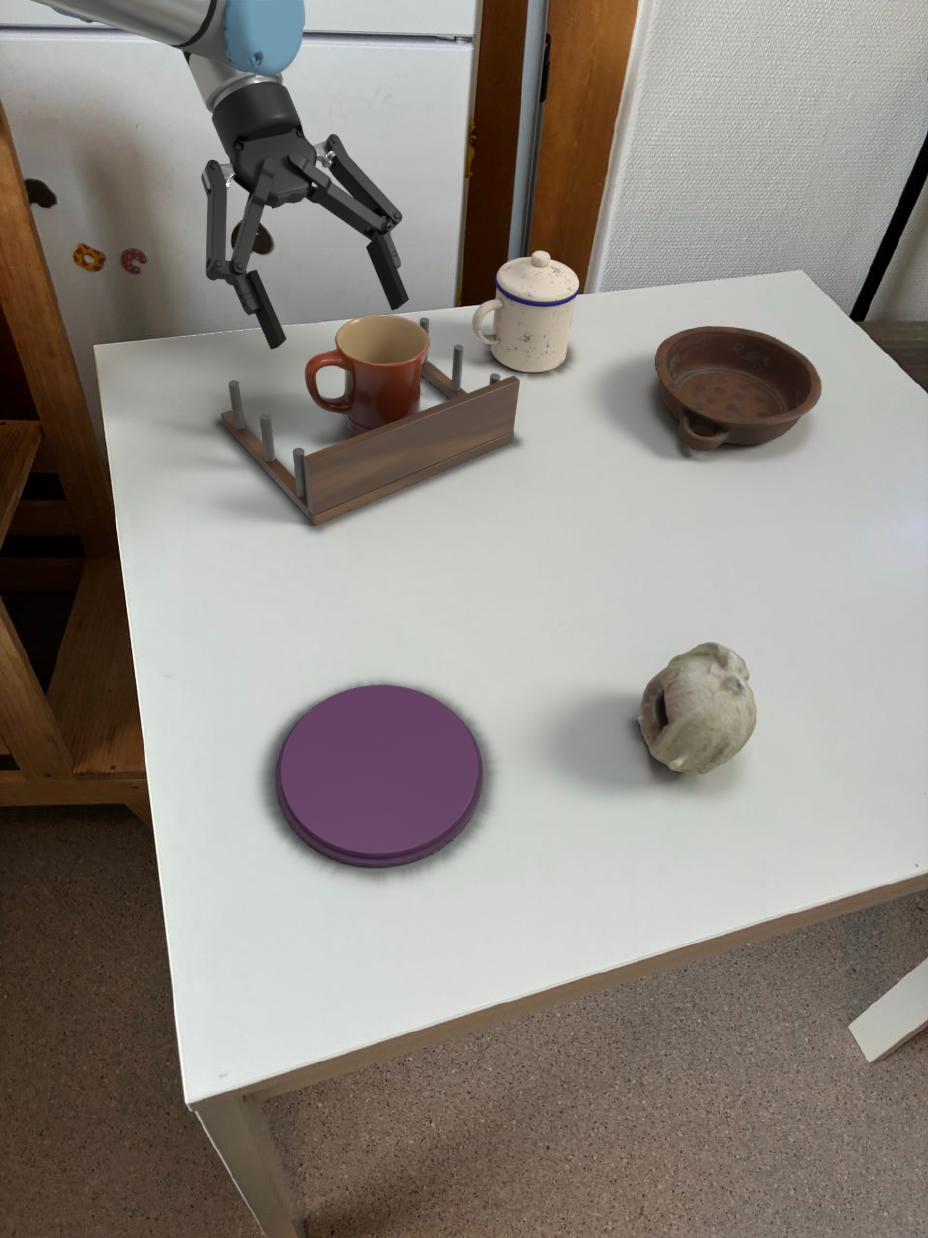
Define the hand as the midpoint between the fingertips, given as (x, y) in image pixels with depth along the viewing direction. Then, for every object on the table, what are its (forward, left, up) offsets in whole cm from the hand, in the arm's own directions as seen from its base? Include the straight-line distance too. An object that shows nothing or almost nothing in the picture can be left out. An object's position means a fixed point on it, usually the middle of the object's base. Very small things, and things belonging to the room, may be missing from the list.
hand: (341, 324), depth 86 cm
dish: (+21, +35, -10) cm, 42 cm away
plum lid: (+38, -21, -10) cm, 45 cm away
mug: (+4, 0, -10) cm, 11 cm away
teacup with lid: (+1, +22, -10) cm, 24 cm away
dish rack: (+4, 0, -10) cm, 11 cm away
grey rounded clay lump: (+49, -1, -10) cm, 50 cm away
